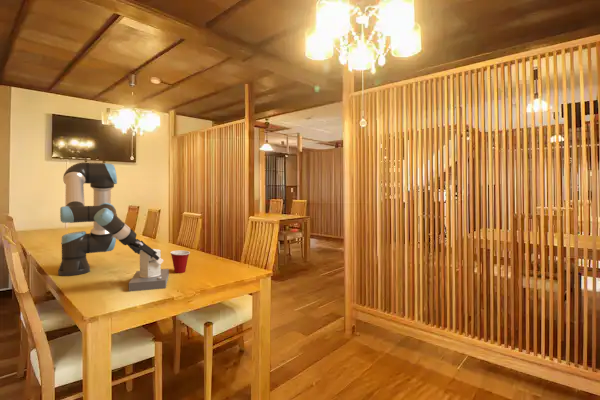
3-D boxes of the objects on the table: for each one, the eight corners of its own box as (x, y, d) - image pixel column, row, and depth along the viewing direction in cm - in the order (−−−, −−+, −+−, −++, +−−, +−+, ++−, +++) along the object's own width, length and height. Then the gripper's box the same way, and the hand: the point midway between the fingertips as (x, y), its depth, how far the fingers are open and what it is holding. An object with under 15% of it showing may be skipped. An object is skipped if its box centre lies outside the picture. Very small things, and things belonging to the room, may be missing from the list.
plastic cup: (183, 275, 182) (183, 253, 182) (166, 273, 184) (166, 253, 184) (193, 270, 192) (193, 250, 192) (177, 269, 195) (177, 249, 194)
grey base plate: (136, 278, 175) (136, 269, 174) (168, 275, 180) (168, 267, 180) (128, 291, 152) (128, 280, 152) (165, 288, 157) (165, 278, 157)
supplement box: (147, 277, 160) (147, 251, 160) (139, 275, 164) (139, 250, 164) (161, 274, 166) (161, 249, 166) (152, 272, 171) (152, 248, 170)
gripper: (107, 238, 159) (139, 264, 172) (131, 242, 146) (163, 270, 159) (118, 226, 163) (148, 253, 177) (142, 230, 150) (173, 257, 164)
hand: (155, 261), depth 168 cm, fingers open, 10 cm apart
